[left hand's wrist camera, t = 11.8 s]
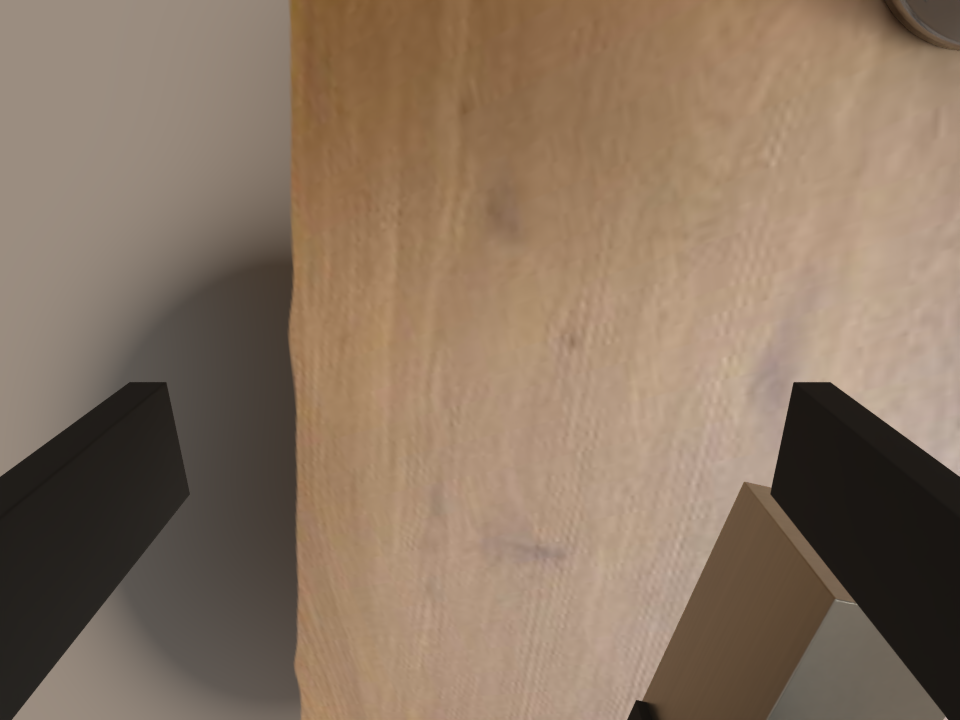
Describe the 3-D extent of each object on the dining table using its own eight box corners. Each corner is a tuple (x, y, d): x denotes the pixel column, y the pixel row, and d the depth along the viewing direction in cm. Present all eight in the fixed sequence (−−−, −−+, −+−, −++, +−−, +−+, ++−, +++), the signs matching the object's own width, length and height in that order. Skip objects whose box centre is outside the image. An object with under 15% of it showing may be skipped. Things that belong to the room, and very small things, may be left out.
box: (743, 481, 32) (835, 599, 24) (872, 509, 33) (1005, 634, 24) (622, 742, 39) (661, 904, 30) (730, 761, 39) (797, 925, 31)
